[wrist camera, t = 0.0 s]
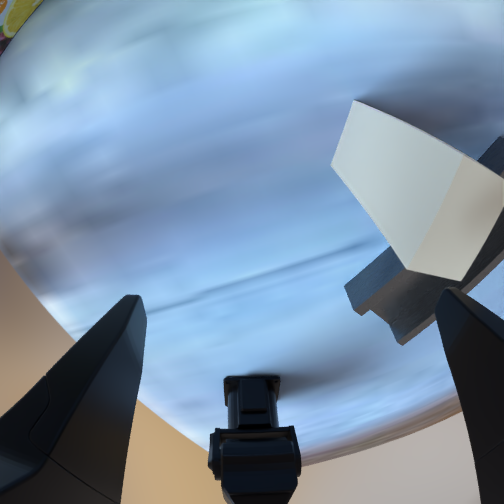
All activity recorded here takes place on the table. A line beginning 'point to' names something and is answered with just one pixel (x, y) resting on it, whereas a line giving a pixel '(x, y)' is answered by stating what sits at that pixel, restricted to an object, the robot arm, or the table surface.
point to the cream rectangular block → (418, 191)
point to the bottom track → (422, 276)
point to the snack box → (14, 18)
